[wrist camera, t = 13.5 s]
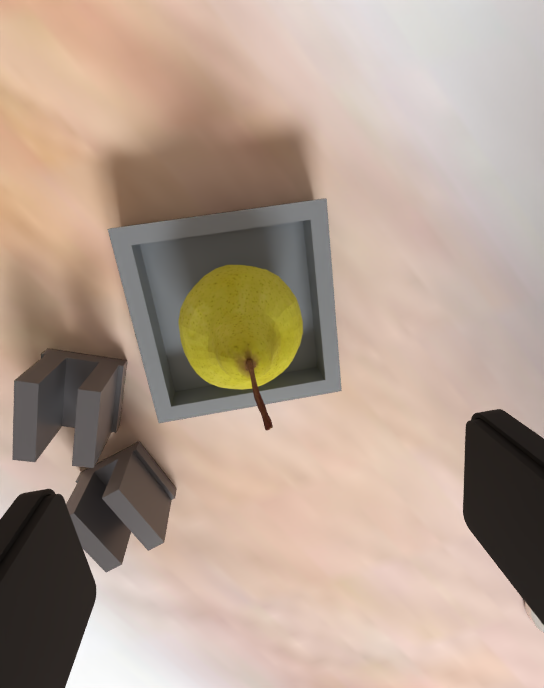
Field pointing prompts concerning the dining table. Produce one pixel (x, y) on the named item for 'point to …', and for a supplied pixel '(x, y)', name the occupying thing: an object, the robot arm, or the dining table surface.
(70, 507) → the clip
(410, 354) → the dining table surface
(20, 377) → the clip
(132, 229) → the grey square tray
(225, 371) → the fruit
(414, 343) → the dining table surface
